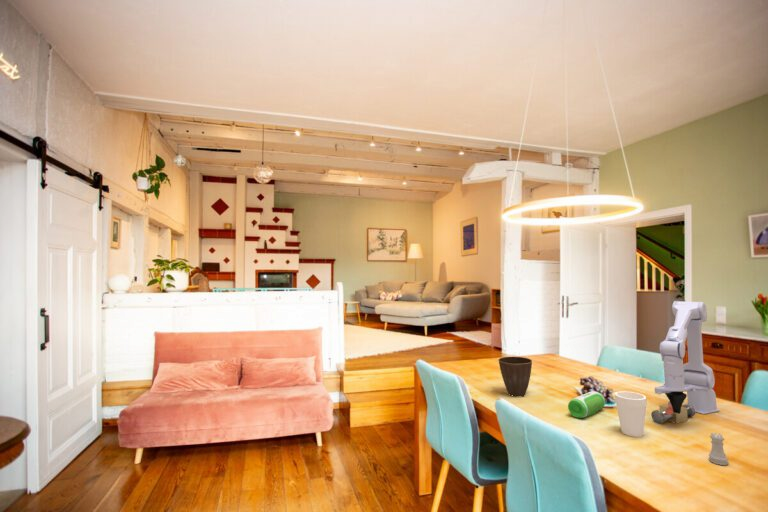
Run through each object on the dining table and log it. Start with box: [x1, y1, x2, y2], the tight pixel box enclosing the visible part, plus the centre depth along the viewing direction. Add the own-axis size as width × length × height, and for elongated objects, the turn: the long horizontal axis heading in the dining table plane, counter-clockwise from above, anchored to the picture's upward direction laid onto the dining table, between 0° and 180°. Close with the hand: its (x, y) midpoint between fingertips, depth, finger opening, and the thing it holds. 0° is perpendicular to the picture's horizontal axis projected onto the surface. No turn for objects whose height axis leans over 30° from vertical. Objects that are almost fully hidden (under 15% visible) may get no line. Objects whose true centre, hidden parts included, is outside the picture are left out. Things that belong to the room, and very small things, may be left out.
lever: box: [665, 400, 673, 415], centre depth 142 cm, size 12×3×1 cm, turn 137°
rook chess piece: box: [708, 432, 729, 466], centre depth 113 cm, size 4×4×8 cm
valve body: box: [650, 403, 696, 424], centre depth 145 cm, size 17×6×5 cm, turn 109°
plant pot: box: [498, 356, 533, 397], centre depth 180 cm, size 15×15×16 cm
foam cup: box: [614, 390, 648, 438], centre depth 134 cm, size 10×9×13 cm
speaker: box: [567, 390, 606, 419], centre depth 154 cm, size 18×7×8 cm, turn 126°
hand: (676, 412), depth 138 cm, fingers closed, pressing on lever
